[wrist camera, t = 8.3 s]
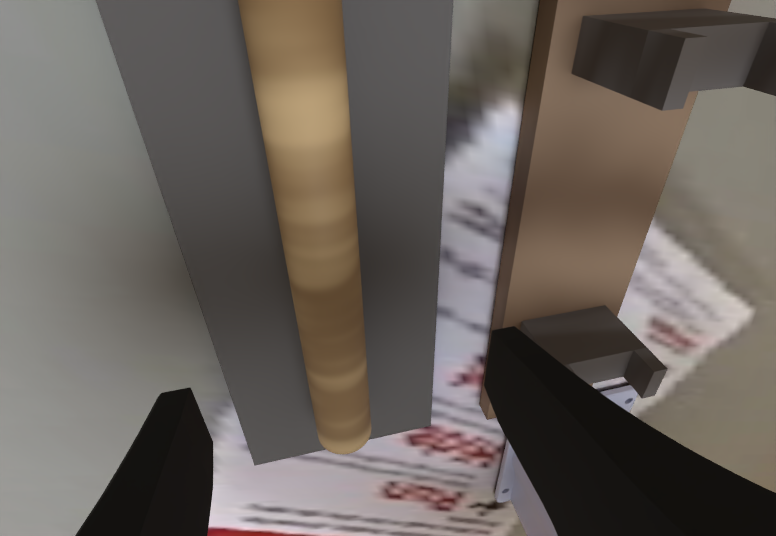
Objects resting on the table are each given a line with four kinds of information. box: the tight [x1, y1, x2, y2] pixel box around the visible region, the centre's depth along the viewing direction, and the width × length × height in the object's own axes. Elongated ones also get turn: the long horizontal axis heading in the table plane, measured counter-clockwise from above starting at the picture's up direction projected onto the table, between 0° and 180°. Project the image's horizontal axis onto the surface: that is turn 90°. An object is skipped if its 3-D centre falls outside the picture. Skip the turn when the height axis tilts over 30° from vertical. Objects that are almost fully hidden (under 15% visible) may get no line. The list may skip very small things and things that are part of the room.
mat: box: [96, 0, 453, 465], centre depth 16 cm, size 24×9×1 cm, turn 1°
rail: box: [238, 0, 371, 454], centre depth 15 cm, size 18×2×2 cm, turn 1°
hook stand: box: [480, 0, 776, 420], centre depth 17 cm, size 24×6×5 cm, turn 1°
